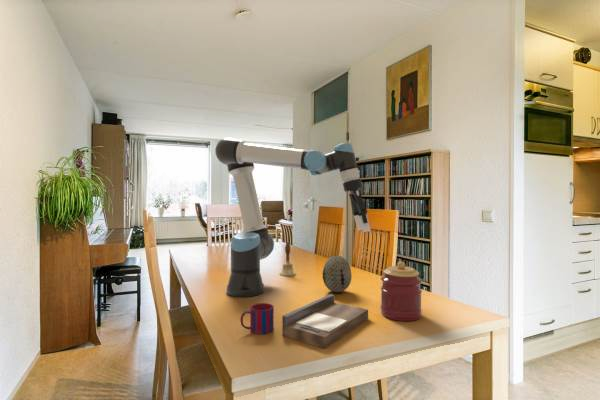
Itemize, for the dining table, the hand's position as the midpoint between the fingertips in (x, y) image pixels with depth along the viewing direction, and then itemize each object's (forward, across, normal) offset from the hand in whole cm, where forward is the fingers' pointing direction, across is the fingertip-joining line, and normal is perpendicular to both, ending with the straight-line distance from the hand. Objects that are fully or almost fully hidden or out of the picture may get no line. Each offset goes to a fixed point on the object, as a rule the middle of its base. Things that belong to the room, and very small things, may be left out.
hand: (363, 230), depth 138 cm
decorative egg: (+22, 0, +17) cm, 27 cm away
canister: (+28, -26, -1) cm, 38 cm away
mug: (+18, -39, +44) cm, 61 cm away
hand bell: (+15, +31, +37) cm, 50 cm away
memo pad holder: (+22, -36, +24) cm, 48 cm away
